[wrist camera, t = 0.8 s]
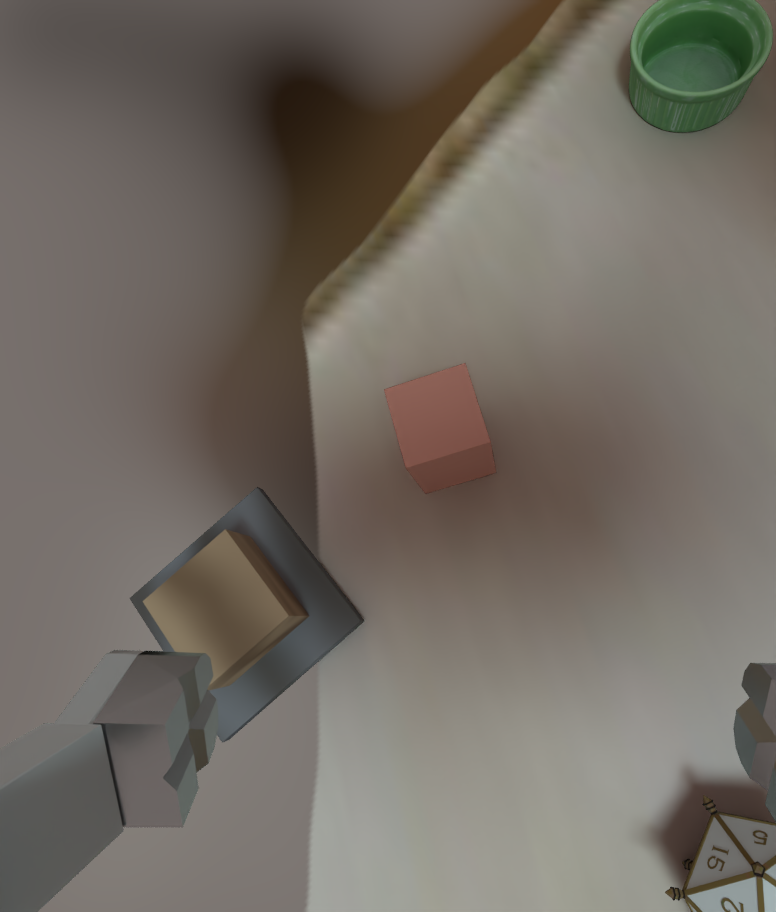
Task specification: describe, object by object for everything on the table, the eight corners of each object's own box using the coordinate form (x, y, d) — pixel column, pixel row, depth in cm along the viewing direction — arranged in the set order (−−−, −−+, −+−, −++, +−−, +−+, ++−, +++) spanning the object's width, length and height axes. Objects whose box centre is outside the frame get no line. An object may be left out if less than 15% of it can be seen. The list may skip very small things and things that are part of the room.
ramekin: (595, 92, 49) (602, 43, 45) (688, 18, 49) (704, -37, 45) (681, 163, 46) (696, 118, 42) (779, 85, 46) (805, 33, 42)
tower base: (262, 489, 47) (233, 475, 42) (364, 620, 43) (344, 621, 38) (137, 598, 46) (93, 596, 42) (228, 739, 43) (192, 755, 38)
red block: (474, 406, 45) (465, 363, 37) (496, 472, 44) (490, 441, 36) (407, 427, 46) (383, 389, 38) (425, 493, 44) (405, 468, 37)
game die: (752, 835, 39) (953, 908, 30) (701, 983, 35) (912, 1115, 26) (663, 746, 37) (848, 795, 28) (599, 891, 33) (788, 1000, 25)
